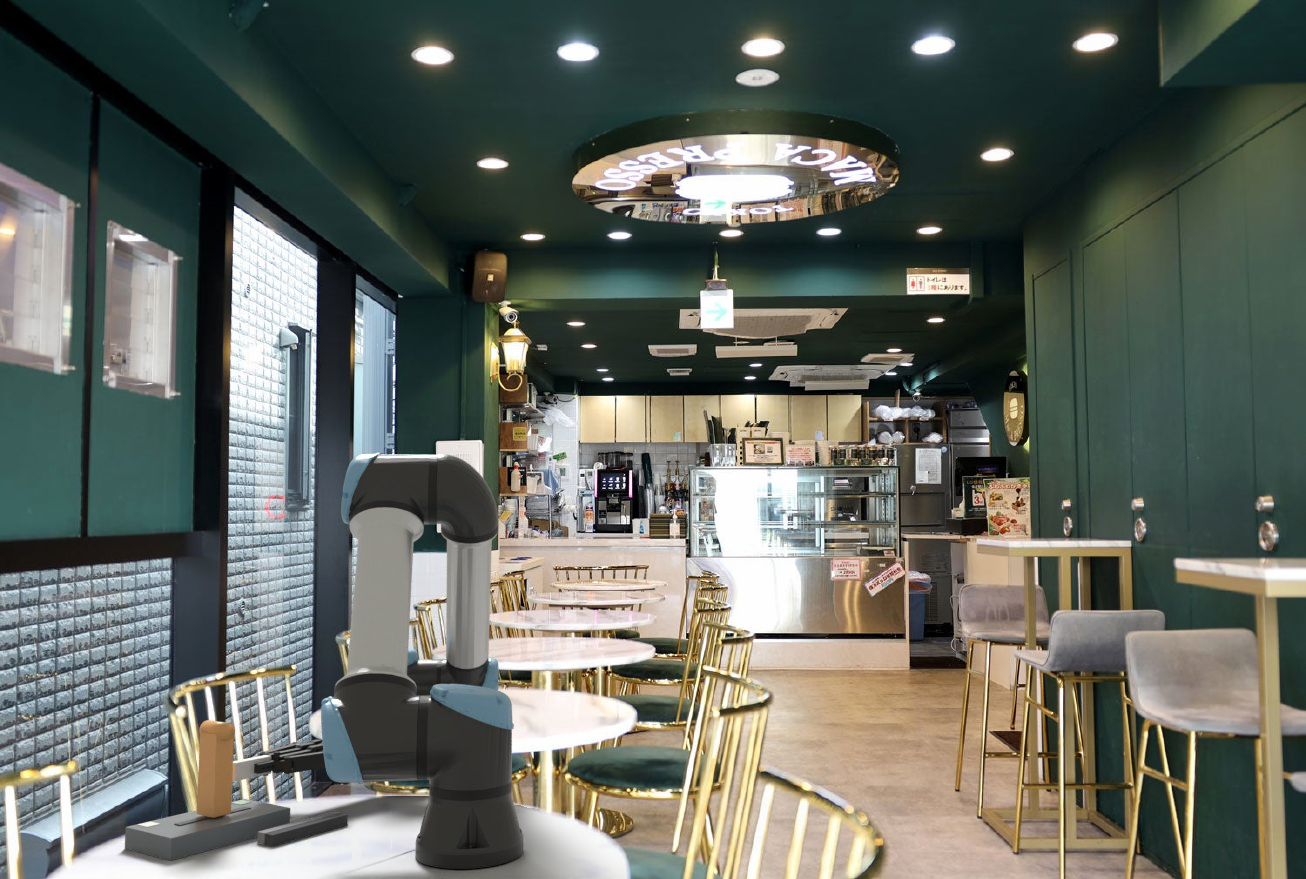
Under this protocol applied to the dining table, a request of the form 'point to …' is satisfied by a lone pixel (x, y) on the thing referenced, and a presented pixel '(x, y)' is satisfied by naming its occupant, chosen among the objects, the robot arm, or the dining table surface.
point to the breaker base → (203, 830)
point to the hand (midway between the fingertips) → (232, 771)
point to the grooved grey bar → (302, 828)
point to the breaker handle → (215, 768)
